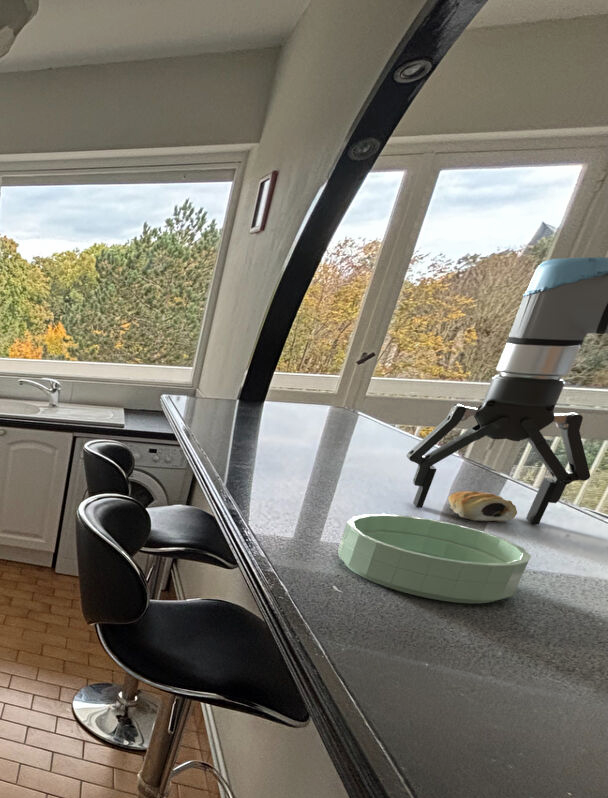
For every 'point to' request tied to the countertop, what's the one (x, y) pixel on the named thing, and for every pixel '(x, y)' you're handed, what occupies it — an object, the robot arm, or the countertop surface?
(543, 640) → the countertop surface
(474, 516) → the pastry
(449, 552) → the bowl
